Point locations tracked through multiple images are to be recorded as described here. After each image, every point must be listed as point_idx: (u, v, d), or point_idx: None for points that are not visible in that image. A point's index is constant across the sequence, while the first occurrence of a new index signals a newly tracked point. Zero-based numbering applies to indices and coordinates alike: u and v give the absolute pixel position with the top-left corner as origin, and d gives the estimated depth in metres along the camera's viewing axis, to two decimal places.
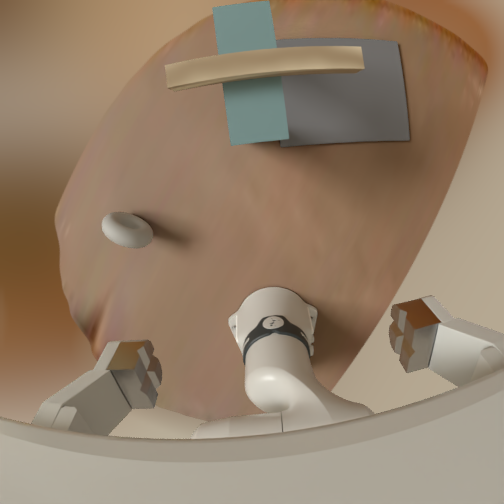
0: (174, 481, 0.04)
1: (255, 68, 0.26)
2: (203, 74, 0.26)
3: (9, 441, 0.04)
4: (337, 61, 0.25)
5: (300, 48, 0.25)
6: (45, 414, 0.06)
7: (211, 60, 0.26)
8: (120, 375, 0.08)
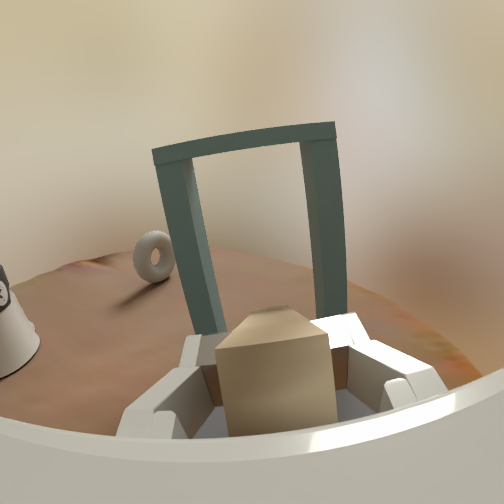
0: (174, 482, 0.04)
1: (258, 314, 0.17)
2: (262, 310, 0.22)
3: (10, 440, 0.04)
4: (253, 330, 0.09)
5: (296, 315, 0.12)
6: (133, 423, 0.06)
7: (281, 307, 0.21)
8: (211, 370, 0.08)
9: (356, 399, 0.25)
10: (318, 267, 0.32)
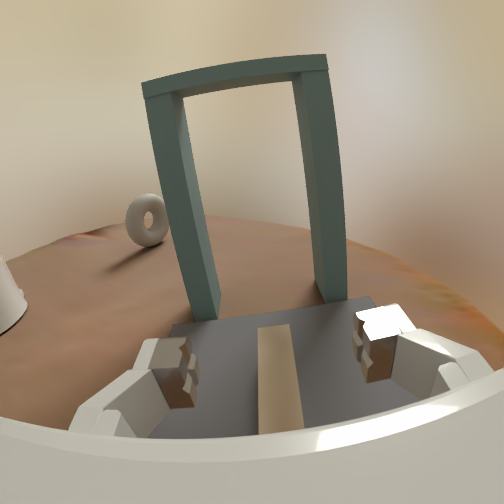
0: (173, 482, 0.04)
1: (267, 413, 0.16)
2: (267, 357, 0.20)
3: (9, 441, 0.04)
4: None
5: None
6: (84, 419, 0.06)
7: (287, 364, 0.19)
8: (162, 374, 0.08)
9: None
10: (314, 207, 0.30)
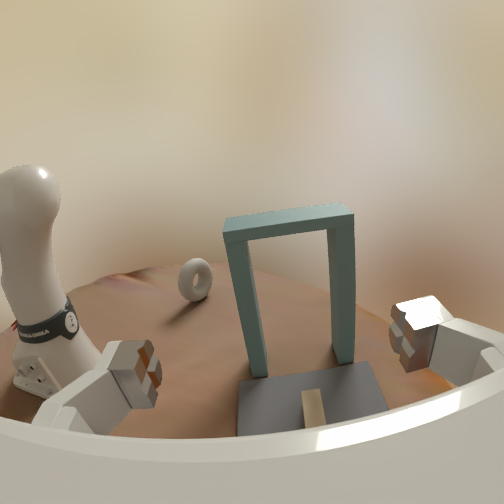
0: (173, 482, 0.04)
1: None
2: (308, 410, 0.35)
3: (9, 441, 0.04)
4: None
5: None
6: (45, 414, 0.06)
7: (320, 414, 0.34)
8: (120, 375, 0.08)
9: (359, 398, 0.38)
10: (335, 307, 0.45)
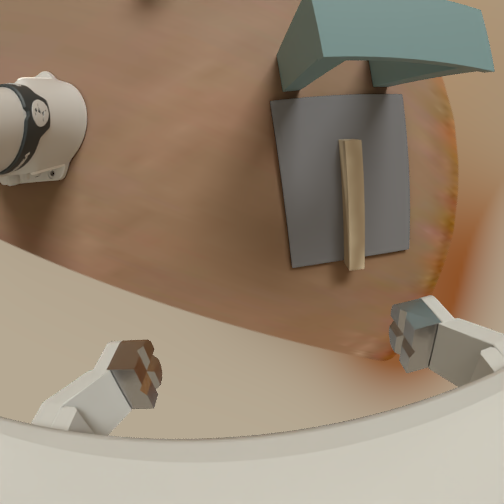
0: (174, 482, 0.04)
1: (351, 200, 0.42)
2: (351, 166, 0.40)
3: (9, 441, 0.04)
4: (353, 253, 0.45)
5: (363, 230, 0.44)
6: (45, 414, 0.06)
7: (360, 172, 0.41)
8: (120, 375, 0.08)
9: (388, 141, 0.42)
10: (399, 63, 0.30)
